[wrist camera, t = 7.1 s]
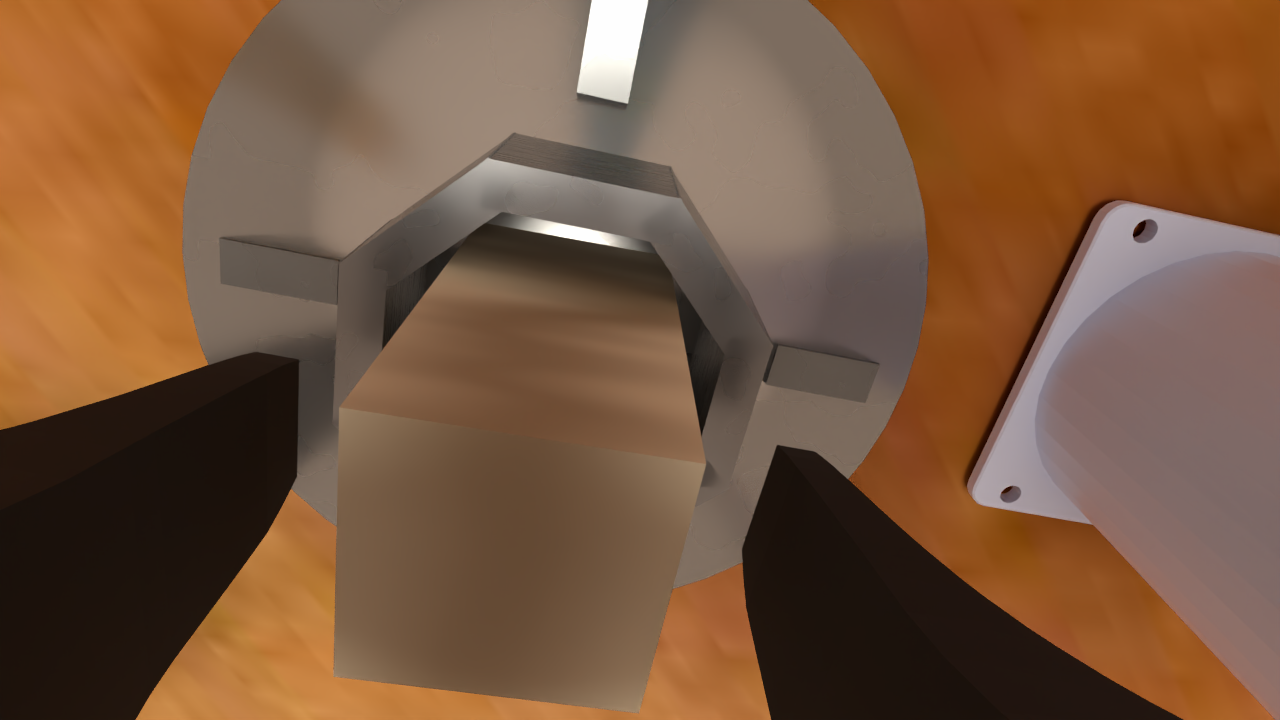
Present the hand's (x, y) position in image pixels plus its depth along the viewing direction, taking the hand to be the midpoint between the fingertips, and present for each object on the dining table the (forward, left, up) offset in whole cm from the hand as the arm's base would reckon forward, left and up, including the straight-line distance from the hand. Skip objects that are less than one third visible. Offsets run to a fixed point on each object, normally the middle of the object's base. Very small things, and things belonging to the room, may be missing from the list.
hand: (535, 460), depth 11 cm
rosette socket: (0, 0, -7) cm, 7 cm away
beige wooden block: (0, 0, -6) cm, 6 cm away
